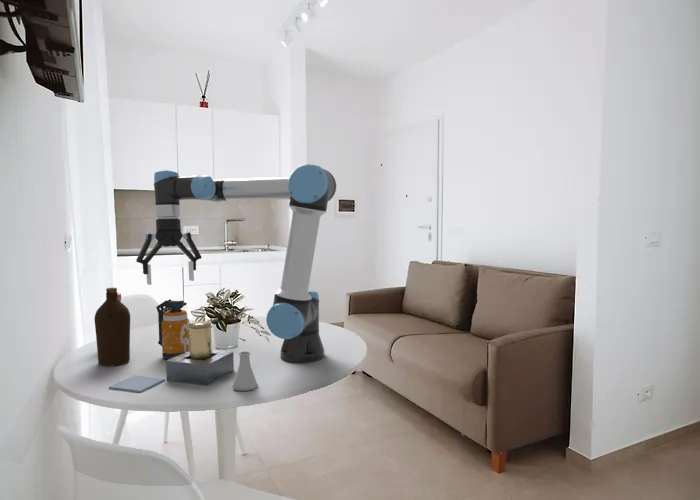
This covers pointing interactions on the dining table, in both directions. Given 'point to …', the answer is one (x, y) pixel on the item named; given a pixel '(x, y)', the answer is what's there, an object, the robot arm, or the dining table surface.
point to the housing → (199, 368)
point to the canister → (173, 328)
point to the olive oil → (112, 331)
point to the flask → (244, 374)
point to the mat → (137, 383)
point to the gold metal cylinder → (200, 340)
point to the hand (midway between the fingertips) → (170, 282)
